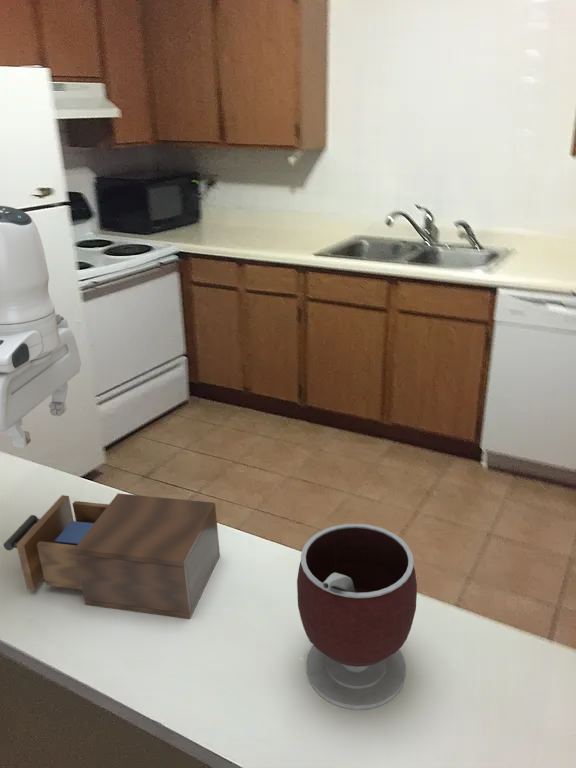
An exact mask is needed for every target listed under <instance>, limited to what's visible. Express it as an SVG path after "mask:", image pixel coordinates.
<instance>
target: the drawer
mask: <svg viewBox="0 0 576 768" xmlns="http://www.w3.org/2000/svg"><path fill="white" fill-rule="evenodd" d="M109 504H110V503H99V502H89V501H81V500H79V501H78V500H74V501H73V502H72V505H71V499H70V496H69V495H65V494H62V495H60V496H59V498H58V499H57V500H56V501H55V502H54V503H53V504H52V505H51V506H50V507H49V509H47V511H46V512H45V513H44V514H43V515H42V516H41V517H40V518H38V516H37V515H36V514H31V515H29V516H28V517H27V519H26V520H25V521H23V523H22V524H21V525H20V526H19V527H18V528H17V529H16V530H15V531H14V533H12V534H11V535H10V536H9V537H8V538H7V540H5V541H4V543H3V548H4V549H5V550H6V551H12V550H14V549H17V553H18V557H19V562H20V565H21V570H22V574H23V577H24V582H25V586H26V590H31V591H32V590H33V591H35V590H36V588H37V587H38V586H39V585H40V584H41V583H42V581H43V580H44V584H45V586H49V587H57V588H64V589H65V588H66V589H72V590H79V591H80V590H81V591H82V586H81V581H80V577H79V572H78V567H77V562H76V557H75V552H74V548H75V547H76V545H67V544H59V543H55V540H56V539H57V538H58V536H59V535H60V534H61V533H62V532H63V531H64V529H65V528H66V527H67V526H68V525H69V523H70V522H71V521H77V522H86V523H95V522H96V520H97V519H98V518H99V517H100V515H101V514H102V513H103V512H104V510H105V509H106V508H107V506H108V505H109ZM72 508H73V510H72ZM73 513H74V514H73ZM74 518H75V520H74Z"/></svg>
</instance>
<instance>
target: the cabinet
mask: <svg viewBox="0 0 576 768" xmlns="http://www.w3.org/2000/svg"><path fill="white" fill-rule="evenodd" d="M108 504H109V505H108V506H107V508H106V509H105V510H104V512H103V513H102V514H101V515H100V517H99V518H98V519H97V520H96V522H95V523H94V524H93V525H92V527H91V528H90V529H89V531H88V532H87V533H86V534H85V536H84V537H83V538H82V539H81V541H80V542H79V543H78V544H77V546H76V547H75V548H74V552H75V557H76V562H77V567H78V572H79V577H80V581H81V586H82V590H81V591H82V596H83V599H84V600H83V601H84V605H86V606H93V607H100V608H108V609H115V610H122V611H130V612H136V613H137V612H138V613H145V614H152V615H159V616H166V617H175V618H182V619H189V620H190V619H191V618H192V616H193V613H194V611H195V609H196V607H197V605H198V603H199V600H200V599H201V596H202V595H203V592H204V591H205V588H206V586H207V584H208V581H210V577H211V576H212V574H213V571H214V569H215V567H216V564H217V563H218V560H219V558H220V557H221V552H220V550H221V549H220V540H219V530H218V520H217V519H218V518H217V509H216V502H210V501H201V500H191V499H181V498H169V497H161V496H149V495H140V494H139V495H138V494H128V493H116V495H115V496H114V497H113V498H112V500H111V501H110V503H108Z"/></svg>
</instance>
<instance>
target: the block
mask: <svg viewBox="0 0 576 768" xmlns="http://www.w3.org/2000/svg"><path fill="white" fill-rule="evenodd" d="M93 524H94V523H86V522H77V521H76V520H74V521H71V522H70V523H69V525H68V526H67V527H66V528H65V529H64V531H63V532H62V533H61V534H60V535H59V536H58V538H57V539H56V540H55V543H59V544H67V545H76V546H77V544H78V543H79V542H80V541H81V539H82V538H83V537H84V536H85V534H86V533H87V532H88V531H89V529H90V528H91V527H92V525H93Z"/></svg>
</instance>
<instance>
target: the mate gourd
mask: <svg viewBox="0 0 576 768" xmlns="http://www.w3.org/2000/svg"><path fill="white" fill-rule="evenodd" d="M296 591H297V593H296V595H297V608H298V613H299V617H300V621H301V624H302V627H303V630H304V632H305V635H306V637H307V639H308V640H309V642H310V643H311V644H312V645H311V647H310V649H309V651H308V653H307V657H306V662H305V663H306V665H305V667H306V675H307V679H308V682H309V683H310V685H311V688H312V689H313V690H314V691H315V692H316V693H317V694H318V695H319V697H321V698H322V699H324V700H325V701H326V702H328V703H330V704H331V705H334V706H337V707H340V708H343V709H346V710H347V709H348V710H355V711H361V710H370V709H374V708H375V709H376V708H378V707H381V706H383V705H385V704H387V703H388V702H391V700H393V699H394V698H395V697H396V696H397V695H398V693H400V692H401V690H402V688H403V686H404V683H405V680H406V670H407V669H406V667H407V666H406V661H405V657H404V655H403V653H402V651H401V650H400V649H401V648H402V647H403V645H405V643H406V641H407V639H408V637H409V634H410V632H411V629H412V625H413V622H414V618H415V615H416V610H417V599H418V598H417V597H418V596H417V595H418V583H417V576H416V569H415V565H414V554H413V552H412V550H411V549H410V547H409V545H408V544H407V543H406V542H405V541H404V540H403V539H402V538H401V537H400V536H399V535H397V534H395V533H393V532H391V531H389V530H387V529H385V528H384V527H383V528H382V527H379V526H377V525H373V524H366V523H343V524H337V525H333V526H330V527H326V528H325V529H322V530H320V531H318V532H317V533H315V534H314V535H312V536H311V537H310V538H309V539H308V540H307V541H306V542H305V543H304V545H303V547H302V550H301V554H300V562H299V566H298V572H297V577H296Z"/></svg>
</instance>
